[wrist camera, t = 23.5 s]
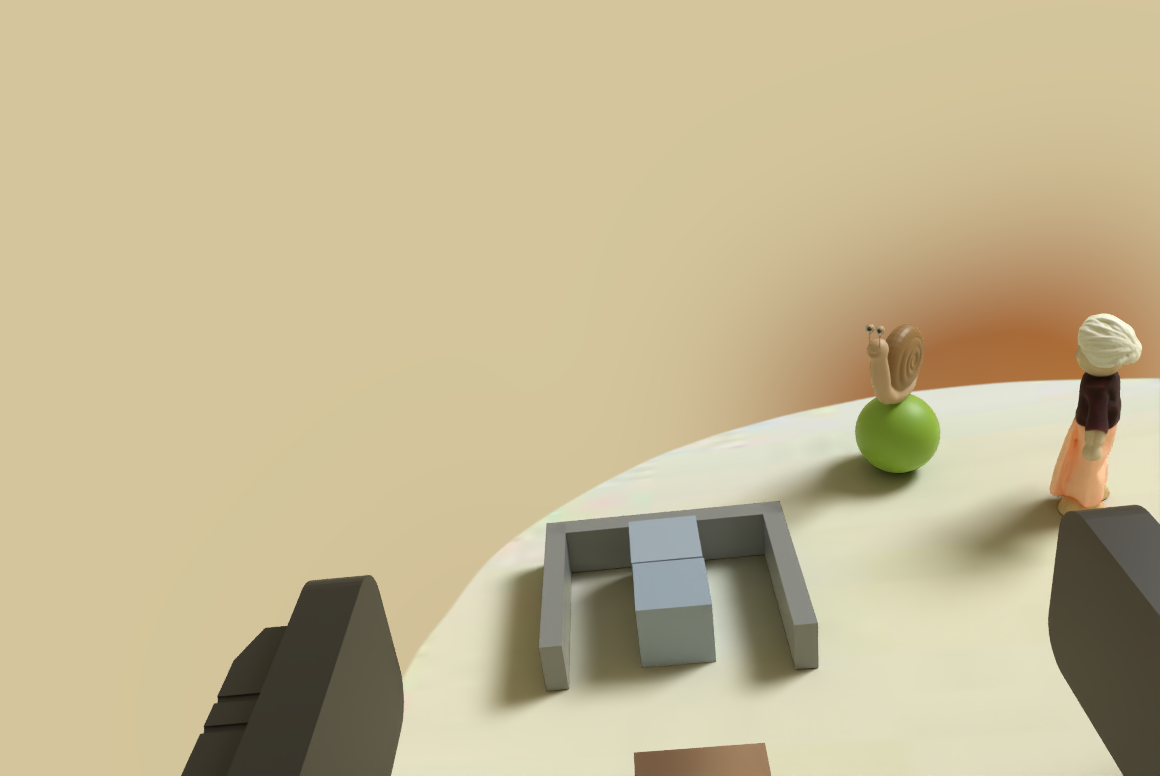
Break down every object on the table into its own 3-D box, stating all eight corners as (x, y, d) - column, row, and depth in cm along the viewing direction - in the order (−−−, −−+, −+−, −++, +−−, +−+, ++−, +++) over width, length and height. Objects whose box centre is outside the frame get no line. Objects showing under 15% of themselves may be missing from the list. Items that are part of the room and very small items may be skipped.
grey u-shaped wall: (780, 541, 61) (779, 501, 60) (818, 667, 52) (817, 622, 50) (553, 562, 62) (546, 523, 61) (546, 690, 52) (538, 647, 51)
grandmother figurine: (1043, 469, 65) (1063, 291, 59) (1109, 474, 64) (1135, 292, 58) (1052, 538, 59) (1075, 346, 53) (1125, 545, 57) (1157, 348, 52)
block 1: (699, 569, 60) (695, 515, 58) (706, 612, 57) (702, 556, 55) (634, 575, 60) (628, 521, 59) (637, 618, 57) (631, 562, 55)
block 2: (708, 613, 56) (704, 557, 55) (716, 662, 53) (711, 604, 51) (638, 619, 57) (632, 563, 55) (642, 668, 53) (635, 610, 51)
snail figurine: (833, 480, 67) (832, 319, 61) (878, 439, 71) (881, 283, 65) (909, 504, 63) (915, 335, 58) (951, 459, 67) (961, 297, 62)
